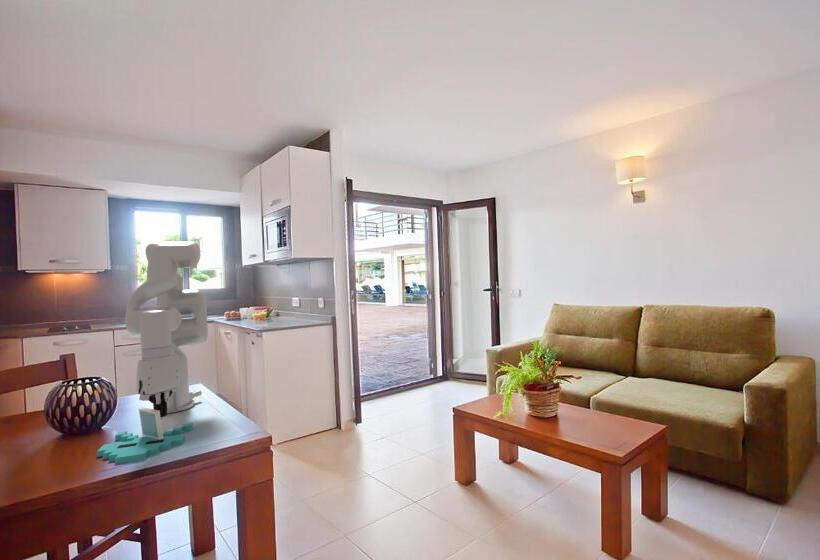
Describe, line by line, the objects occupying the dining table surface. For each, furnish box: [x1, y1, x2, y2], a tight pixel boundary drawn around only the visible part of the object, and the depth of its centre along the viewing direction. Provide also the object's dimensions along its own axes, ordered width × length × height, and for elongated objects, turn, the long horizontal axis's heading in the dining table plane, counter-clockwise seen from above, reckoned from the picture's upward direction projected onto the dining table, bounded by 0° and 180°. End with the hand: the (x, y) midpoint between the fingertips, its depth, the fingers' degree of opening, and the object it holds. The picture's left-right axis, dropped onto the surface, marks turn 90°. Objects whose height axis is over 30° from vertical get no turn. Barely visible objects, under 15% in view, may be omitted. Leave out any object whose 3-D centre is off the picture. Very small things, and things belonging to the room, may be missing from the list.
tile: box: [138, 406, 164, 440], centre depth 117 cm, size 1×8×8 cm, turn 63°
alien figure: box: [96, 423, 194, 465], centre depth 115 cm, size 20×2×20 cm
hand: (160, 416), depth 119 cm, fingers closed
